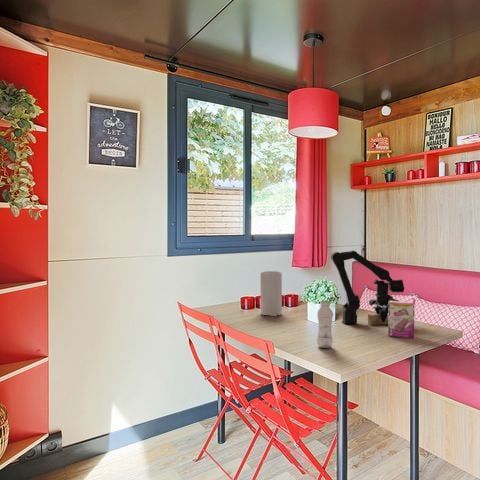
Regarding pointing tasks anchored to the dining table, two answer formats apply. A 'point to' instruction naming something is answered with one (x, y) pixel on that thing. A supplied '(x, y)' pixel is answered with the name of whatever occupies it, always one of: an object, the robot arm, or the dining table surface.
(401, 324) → the candy bar box
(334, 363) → the dining table surface
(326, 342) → the plastic bottle
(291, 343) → the dining table surface
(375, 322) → the turner
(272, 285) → the cylinder vase
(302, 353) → the dining table surface
